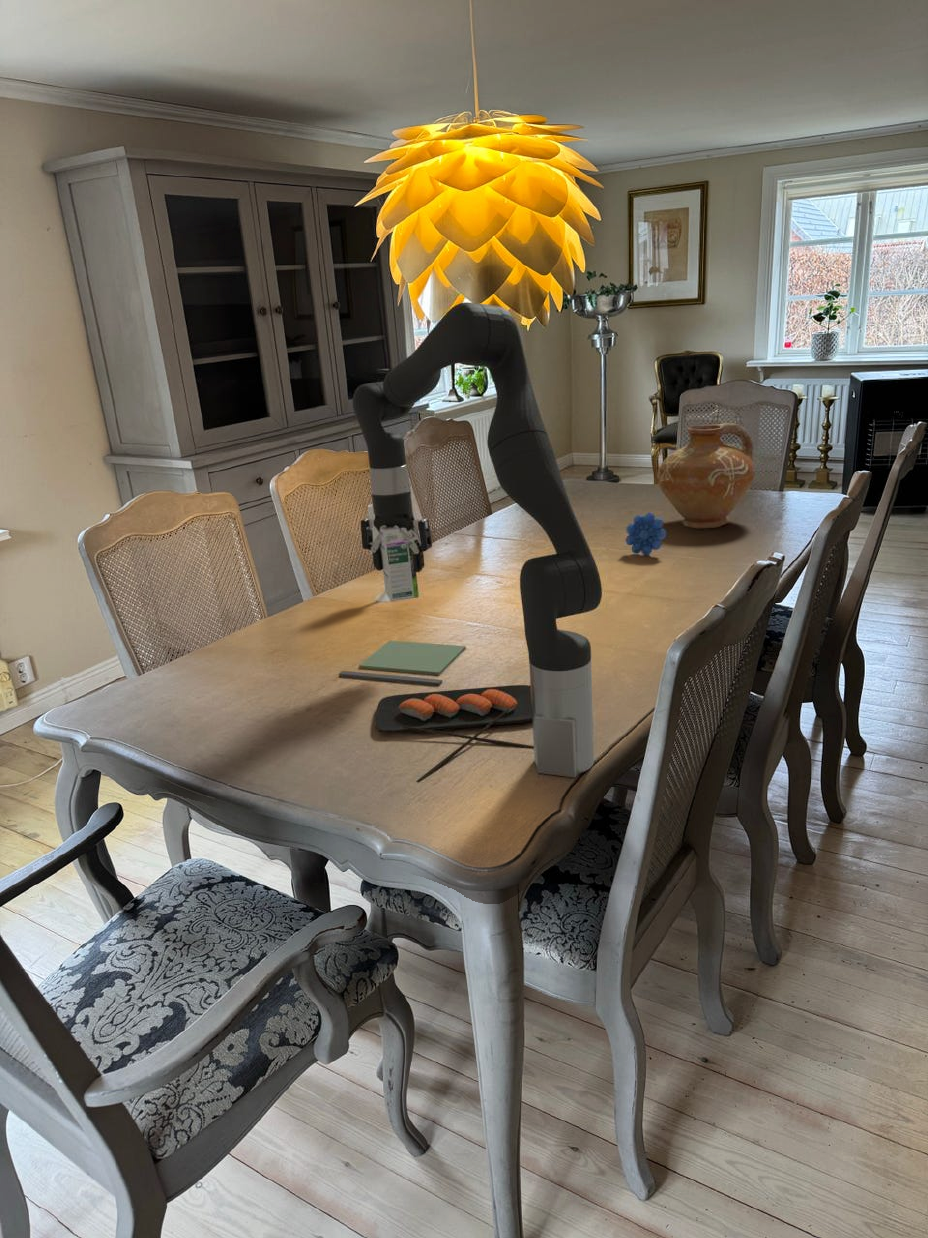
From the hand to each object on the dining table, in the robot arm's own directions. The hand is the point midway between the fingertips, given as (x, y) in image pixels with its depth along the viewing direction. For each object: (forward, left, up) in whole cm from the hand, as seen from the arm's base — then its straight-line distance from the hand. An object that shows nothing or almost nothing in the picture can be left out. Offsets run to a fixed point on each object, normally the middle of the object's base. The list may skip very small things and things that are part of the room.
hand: (399, 570), depth 170 cm
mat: (+2, 0, -20) cm, 20 cm away
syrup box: (0, 0, -6) cm, 6 cm away
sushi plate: (-27, -22, -21) cm, 41 cm away
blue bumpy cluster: (+84, -33, -20) cm, 92 cm away
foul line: (-9, 0, -20) cm, 22 cm away
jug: (+119, -44, -20) cm, 128 cm away
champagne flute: (+38, +24, -20) cm, 49 cm away
